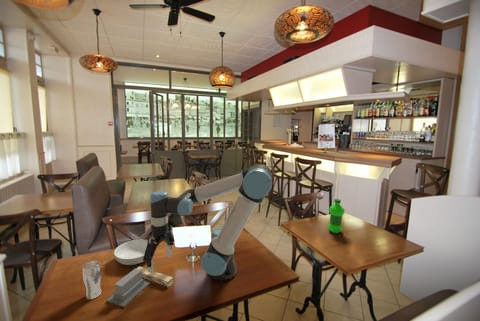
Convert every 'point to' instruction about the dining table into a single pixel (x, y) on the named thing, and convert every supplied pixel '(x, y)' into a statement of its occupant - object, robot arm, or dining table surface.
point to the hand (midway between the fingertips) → (160, 264)
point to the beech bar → (156, 277)
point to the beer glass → (92, 279)
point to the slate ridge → (128, 288)
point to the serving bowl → (131, 252)
